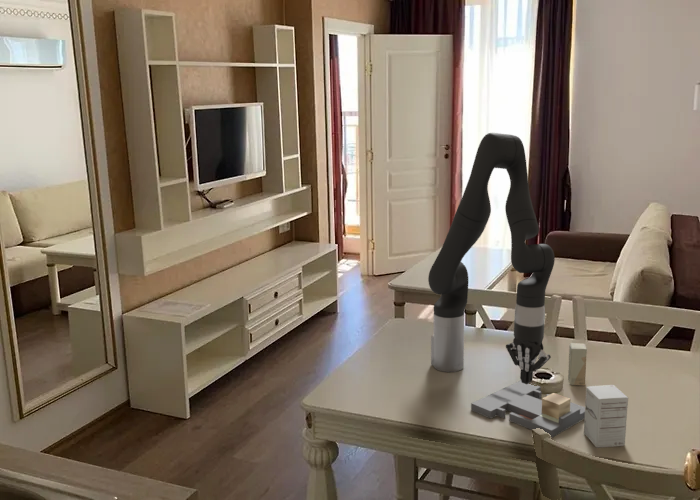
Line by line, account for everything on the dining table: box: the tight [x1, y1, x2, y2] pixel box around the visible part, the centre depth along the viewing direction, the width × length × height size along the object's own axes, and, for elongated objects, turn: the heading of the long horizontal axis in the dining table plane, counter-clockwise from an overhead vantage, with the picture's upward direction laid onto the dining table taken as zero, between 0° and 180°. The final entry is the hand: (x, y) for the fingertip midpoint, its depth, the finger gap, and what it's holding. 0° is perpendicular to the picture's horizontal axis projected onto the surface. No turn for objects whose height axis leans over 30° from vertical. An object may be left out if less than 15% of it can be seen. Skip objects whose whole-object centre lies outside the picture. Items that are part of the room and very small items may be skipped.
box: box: [567, 342, 588, 386], centre depth 199 cm, size 5×4×11 cm
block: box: [541, 392, 571, 419], centre depth 176 cm, size 5×5×4 cm
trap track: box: [470, 379, 585, 438], centre depth 182 cm, size 23×22×4 cm
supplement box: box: [583, 384, 629, 448], centre depth 166 cm, size 7×7×13 cm
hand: (526, 382), depth 182 cm, fingers closed
